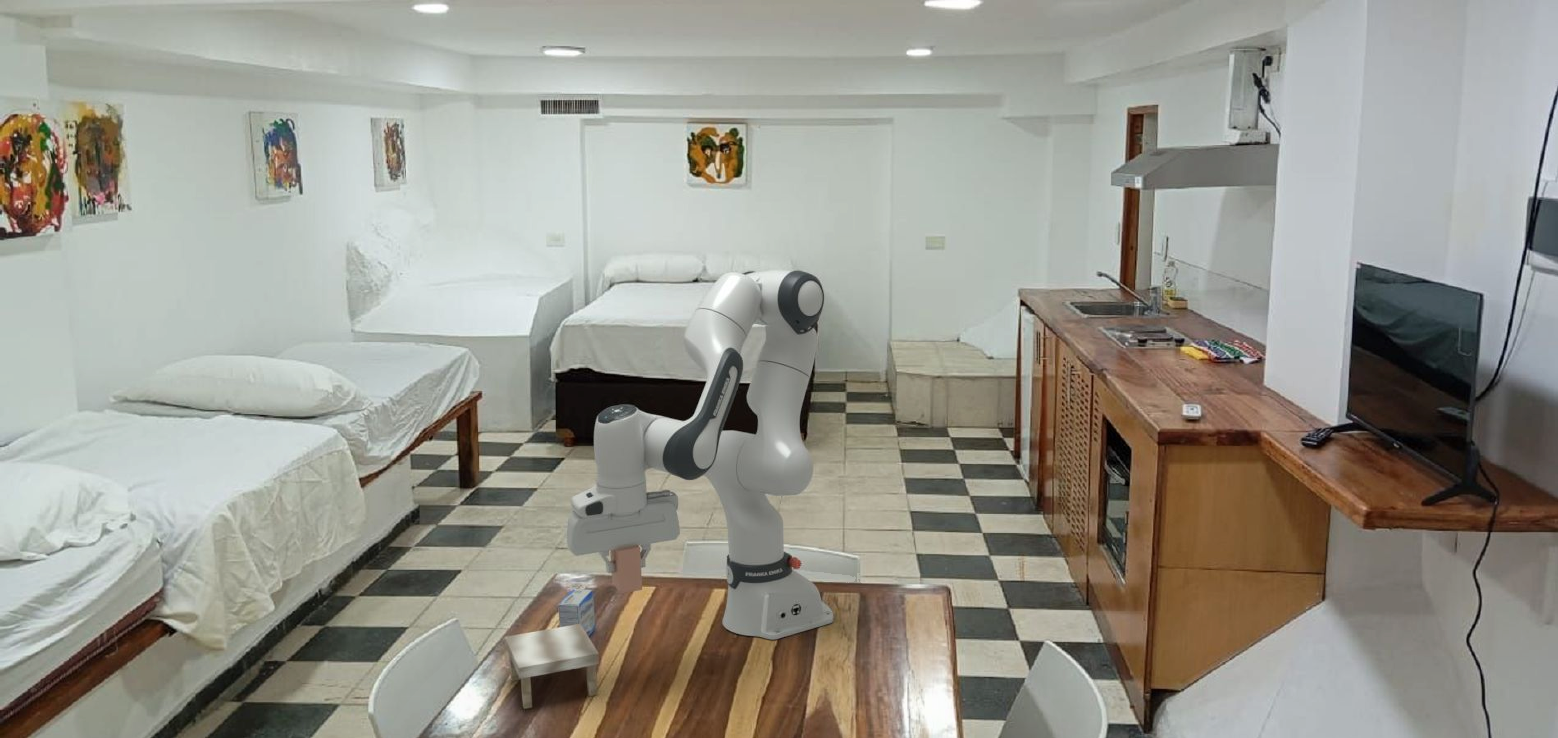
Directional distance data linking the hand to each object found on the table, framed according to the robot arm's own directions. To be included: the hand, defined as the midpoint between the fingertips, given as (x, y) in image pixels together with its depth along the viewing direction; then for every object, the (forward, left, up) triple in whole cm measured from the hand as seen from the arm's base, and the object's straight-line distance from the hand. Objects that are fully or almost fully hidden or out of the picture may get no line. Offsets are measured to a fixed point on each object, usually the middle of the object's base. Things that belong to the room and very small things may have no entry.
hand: (626, 569), depth 220 cm
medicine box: (+5, -20, -21) cm, 29 cm away
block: (0, 0, -3) cm, 3 cm away
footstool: (+14, -1, -20) cm, 25 cm away
